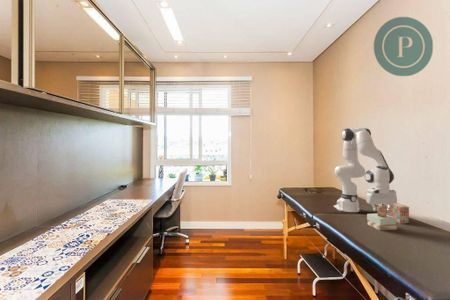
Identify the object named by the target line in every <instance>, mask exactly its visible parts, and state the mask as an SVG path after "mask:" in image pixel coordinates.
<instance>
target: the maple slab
mask: <svg viewBox="0 0 450 300" xmlns="http://www.w3.org/2000/svg"><path fill="white" fill-rule="evenodd" d="M367 225H368V226H370V227H371V228H374V229H376V230H378V231H397V230H398V225H397V223H396V224H391V225H379V224H376V223H374V222H372V221H369V220H367Z"/></svg>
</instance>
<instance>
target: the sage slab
mask: <svg viewBox="0 0 450 300" xmlns="http://www.w3.org/2000/svg"><path fill="white" fill-rule="evenodd" d="M366 220H367V221H368V220H369V221H372V222H374V223H376V224H379V225H391V224H397V222H396V218H394V217H392V216H389V215H386V217H379V216H377V213H367V214H366Z"/></svg>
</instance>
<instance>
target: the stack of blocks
mask: <svg viewBox="0 0 450 300" xmlns="http://www.w3.org/2000/svg"><path fill="white" fill-rule="evenodd" d="M381 206H382V207H387V206H388V204H381ZM387 215H389V216H392V217H394V218H396V223H398V224H399V225H400V224H404V225H406V223H410V207H409V206H407V205H405V204H401V203H399V202H397V203H395V204H392V206H391V207H390V210H387Z"/></svg>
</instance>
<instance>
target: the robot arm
mask: <svg viewBox="0 0 450 300" xmlns="http://www.w3.org/2000/svg"><path fill="white" fill-rule="evenodd" d="M341 139H342V140H343V146H342V158H343V160H345V161H347V163H348V164H343V165H338V166H335V168H334V171H333V172H334V175H335V177H337V178H338V179H339V180H340V182H341V187H342V189H341V190H342V193H340V196H341V197H339V198H338V199H337V201H336V204H335V205H333V208H335V209H336V210H338V211H340V212H348V213H358V212H360V211H361V208H360V205H359V200H358V194H357V193H358V185H356V183H354V182H353V181H352V179H358V178H362V177H364V180H365V182H367V183H369V184H374V185H373V186H372V187H370V188H367V189H366V192H367V193H366V196H365V201H366V203H367V204H369V205H371V207H372V209H373V211H378V207H376V205H382V204H388V206H387V207H386V208H387V210H390V207H391V206H392V204H395V203H398V197H397V191H396V190H394V189H390V184H391V183H392V182H393V181H395V174H394V173H393V171H392V170H391V169H390V167H389V165H388V163H387V160H386V159H385V157H384V155H383V153H382V151H381V150H379V149H378V147H377V146H376V145H375V143H374V141H373V138H372V132H371V130H370V129H369V128H367V127H350V128H344V129H343V130H342V132H341ZM358 152H359V153H360V154H361V155H362V156H366V157H369V158H371V159H373V160H374V161H376V163H377V166H375V167H374V168H372V169H370V170H367V171H366V168H365V167H364V166H363V165H361V163H360V161H359V157H358V155H359V154H358Z"/></svg>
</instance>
